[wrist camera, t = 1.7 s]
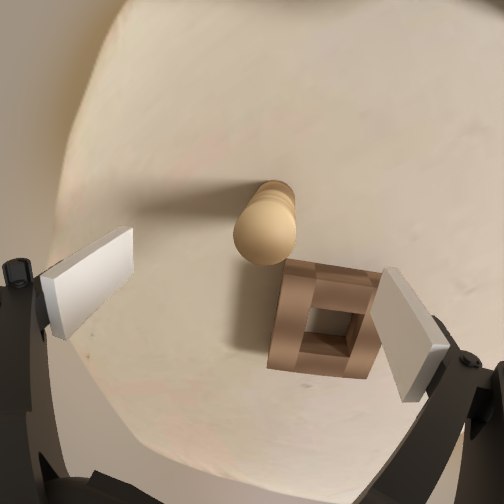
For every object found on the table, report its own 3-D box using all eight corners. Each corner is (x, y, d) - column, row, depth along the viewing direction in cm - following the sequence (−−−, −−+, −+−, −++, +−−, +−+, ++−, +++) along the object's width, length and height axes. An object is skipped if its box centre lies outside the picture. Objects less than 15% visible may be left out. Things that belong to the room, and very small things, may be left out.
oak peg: (257, 177, 30) (236, 201, 19) (297, 183, 30) (300, 210, 19) (252, 216, 32) (230, 260, 21) (291, 222, 32) (290, 270, 20)
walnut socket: (285, 258, 33) (284, 274, 29) (390, 274, 32) (401, 291, 28) (269, 347, 37) (266, 368, 34) (361, 358, 36) (366, 379, 33)
